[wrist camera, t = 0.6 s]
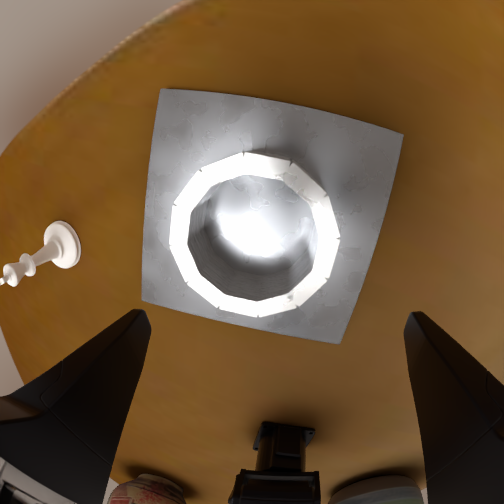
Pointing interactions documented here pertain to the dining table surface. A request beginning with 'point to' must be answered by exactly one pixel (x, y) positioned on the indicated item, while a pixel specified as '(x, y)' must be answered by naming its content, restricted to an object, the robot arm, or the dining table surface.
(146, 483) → the ceramic jug
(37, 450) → the robot arm
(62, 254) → the chess piece
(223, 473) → the dining table surface
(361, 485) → the vase
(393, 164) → the duct collar
